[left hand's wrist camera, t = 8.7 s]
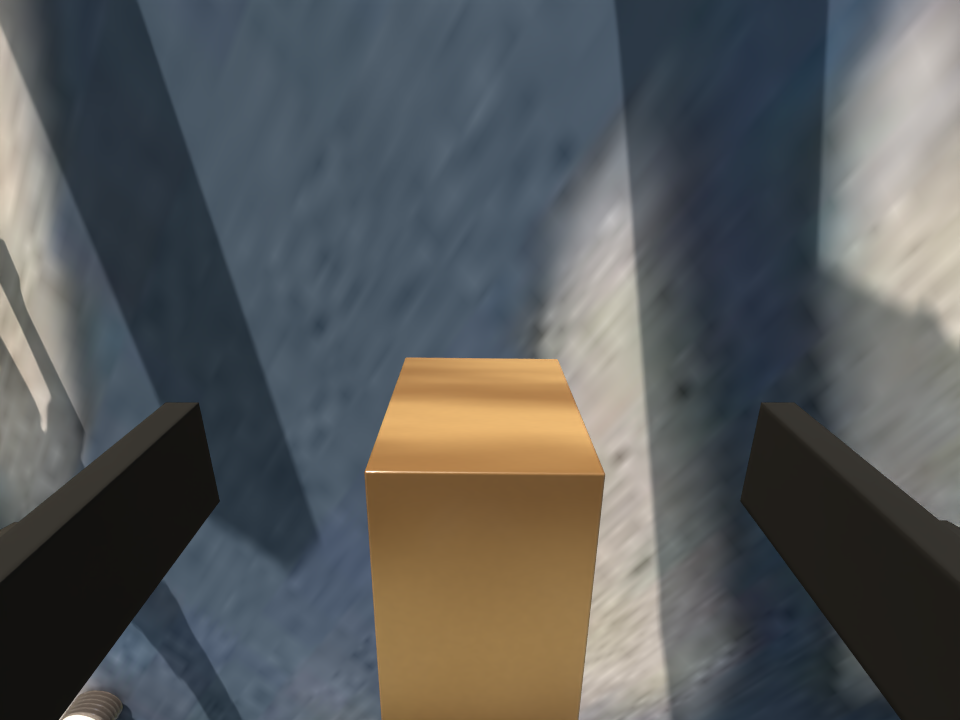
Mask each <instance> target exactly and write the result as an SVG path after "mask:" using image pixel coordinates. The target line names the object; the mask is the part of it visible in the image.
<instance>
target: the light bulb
mask: <svg viewBox="0 0 960 720" xmlns="http://www.w3.org/2000/svg"><path fill="white" fill-rule="evenodd" d="M122 709H123V706H122V703H121V701H120V700H119V699H118V698H117V697H116V696H115V695H113V694H111V693H108V692H104V691H89V692H85V693H83V694H81V695H80V696H78V697H77V698H76V700H75V701H74V702H73V704H72V705H71V706H70V708H69V710H68V711H67V712H66V714H65V715H64V716H63V718H62V719H61V720H116V719H117V718H118V716H119V714H120V713H121V712H122Z"/></svg>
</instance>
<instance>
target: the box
mask: <svg viewBox="0 0 960 720" xmlns="http://www.w3.org/2000/svg"><path fill="white" fill-rule="evenodd" d="M364 473H365V488H366V502H367V516H368V531H369V545H370V560H371V574H372V588H373V603H374V617H375V632H376V646H377V660H378V675H379V689H380V704H381V718H382V720H578V718H579V709H580V700H581V691H582V681H583V672H584V663H585V654H586V645H587V636H588V627H589V617H590V608H591V599H592V590H593V581H594V572H595V563H596V553H597V544H598V535H599V526H600V517H601V508H602V499H603V489H604V480H605V473H604V471H603V468H602V466H601V463H600V461H599V458H598V456H597V454H596V451H595V449H594V446H593V444H592V441H591V439H590V437H589V434H588V432H587V429H586V427H585V425H584V422H583V420H582V417H581V415H580V412H579V410H578V408H577V405H576V403H575V400H574V398H573V395H572V393H571V391H570V388H569V386H568V383H567V381H566V378H565V376H564V374H563V371H562V369H561V366H560V364H559V362H558V360H557V359H476V358H405V361H404V364H403V367H402V370H401V372H400V375H399V378H398V381H397V383H396V386H395V389H394V392H393V395H392V397H391V400H390V403H389V406H388V408H387V411H386V414H385V417H384V420H383V422H382V425H381V428H380V431H379V434H378V436H377V439H376V442H375V445H374V447H373V450H372V453H371V456H370V459H369V461H368V464H367V467H366V470H365V472H364Z"/></svg>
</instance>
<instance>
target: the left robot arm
mask: <svg viewBox="0 0 960 720" xmlns="http://www.w3.org/2000/svg"><path fill="white" fill-rule="evenodd" d="M219 501H220V500H219V495H218V491H217V486H216V481H215V477H214V472H213V467H212V463H211V458H210V453H209V449H208V444H207V439H206V435H205V430H204V425H203V421H202V416H201V411H200V406H199V403H165V404H164V405H162V406H161V407H160V408H159V409H157V410H156V411H155V412H154V413H152V414H151V415H150V416H149V417H148V418H146V419H145V420H144V421H143V422H141V423H140V424H139V425H138V426H136V427H135V428H134V429H133V430H131V431H130V432H129V433H128V434H127V435H125V436H124V437H123V438H122V439H120V440H119V441H118V442H117V443H115V444H114V445H113V446H112V447H111V448H109V449H108V450H107V451H106V452H104V453H103V454H102V455H101V456H99V457H98V458H97V459H96V460H95V461H93V462H92V463H91V464H90V465H88V466H87V467H86V468H85V469H83V470H82V471H81V472H80V473H79V474H77V475H76V476H75V477H74V478H72V479H71V480H70V481H69V482H67V483H66V484H65V485H64V486H63V487H61V488H60V489H59V490H58V491H56V492H55V493H54V494H53V495H51V496H50V497H49V498H48V499H47V500H45V501H44V502H43V503H42V504H40V505H39V506H38V507H37V508H35V509H34V510H33V511H32V512H31V513H29V514H28V515H27V516H26V517H24V518H23V519H22V520H21V521H19V522H14V523H12V524H10V525H9V526H7V527H5V528H3V529H1V530H0V720H59V719H60V717H61V716H62V715H63V713H64V712H65V711H66V709H67V708H68V707H69V705H70V704H71V702H72V701H73V700H74V698H75V697H76V696H77V694H78V693H79V692H80V690H81V689H82V688H83V686H84V685H85V683H86V682H87V681H88V679H89V678H90V677H91V675H92V674H93V673H94V671H95V670H96V668H97V667H98V666H99V664H100V663H101V662H102V660H103V659H104V658H105V656H106V655H107V654H108V652H109V651H110V649H111V648H112V647H113V645H114V644H115V643H116V641H117V640H118V639H119V637H120V636H121V635H122V633H123V632H124V630H125V629H126V628H127V626H128V625H129V624H130V622H131V621H132V620H133V618H134V617H135V616H136V614H137V613H138V611H139V610H140V609H141V607H142V606H143V605H144V603H145V602H146V601H147V599H148V598H149V596H150V595H151V594H152V592H153V591H154V590H155V588H156V587H157V586H158V584H159V583H160V582H161V580H162V579H163V577H164V576H165V575H166V573H167V572H168V571H169V569H170V568H171V567H172V565H173V564H174V563H175V561H176V560H177V558H178V557H179V556H180V554H181V553H182V552H183V550H184V549H185V548H186V546H187V545H188V544H189V542H190V541H191V539H192V538H193V537H194V535H195V534H196V533H197V531H198V530H199V529H200V527H201V526H202V524H203V523H204V522H205V520H206V519H207V518H208V516H209V515H210V514H211V512H212V511H213V510H214V508H215V507H216V505H217V504H218V503H219ZM740 501H741V503H742V504H743V505H744V507H745V508H746V510H747V511H748V512H749V514H750V515H751V516H752V518H753V519H754V520H755V522H756V523H757V524H758V526H759V527H760V529H761V530H762V531H763V533H764V534H765V535H766V537H767V538H768V539H769V541H770V542H771V544H772V545H773V546H774V548H775V549H776V550H777V552H778V553H779V554H780V556H781V557H782V558H783V560H784V561H785V563H786V564H787V565H788V567H789V568H790V569H791V571H792V572H793V573H794V575H795V576H796V577H797V579H798V580H799V582H800V583H801V584H802V586H803V587H804V588H805V590H806V591H807V592H808V594H809V595H810V596H811V598H812V599H813V601H814V602H815V603H816V605H817V606H818V607H819V609H820V610H821V611H822V613H823V614H824V616H825V617H826V618H827V620H828V621H829V622H830V624H831V625H832V626H833V628H834V629H835V630H836V632H837V633H838V635H839V636H840V637H841V639H842V640H843V641H844V643H845V644H846V645H847V647H848V648H849V649H850V651H851V652H852V654H853V655H854V656H855V658H856V659H857V660H858V662H859V663H860V664H861V666H862V667H863V669H864V670H865V671H866V673H867V674H868V675H869V677H870V678H871V679H872V681H873V682H874V683H875V685H876V686H877V688H878V689H879V690H880V692H881V693H882V694H883V696H884V697H885V698H886V700H887V701H888V702H889V704H890V705H891V707H892V708H893V709H894V711H895V712H896V713H897V715H898V716H899V717H900V719H901V720H960V528H959V527H958V526H956V525H954V524H952V523H950V522H948V521H939V520H938V519H937V518H936V517H934V516H933V515H932V514H931V513H929V512H928V511H927V510H926V509H925V508H923V507H922V506H921V505H920V504H918V503H917V502H916V501H915V500H913V499H912V498H911V497H910V496H909V495H907V494H906V493H905V492H904V491H902V490H901V489H900V488H899V487H897V486H896V485H895V484H894V483H893V482H891V481H890V480H889V479H888V478H886V477H885V476H884V475H883V474H881V473H880V472H879V471H878V470H877V469H875V468H874V467H873V466H872V465H870V464H869V463H868V462H867V461H865V460H864V459H863V458H862V457H861V456H859V455H858V454H857V453H856V452H854V451H853V450H852V449H851V448H849V447H848V446H847V445H846V444H845V443H843V442H842V441H841V440H840V439H838V438H837V437H836V436H835V435H833V434H832V433H831V432H830V431H829V430H827V429H826V428H825V427H824V426H822V425H821V424H820V423H819V422H817V421H816V420H815V419H814V418H812V417H811V416H810V415H809V414H808V413H806V412H805V411H804V410H803V409H801V408H800V407H799V406H798V405H796V404H795V403H761V406H760V411H759V416H758V421H757V425H756V430H755V435H754V439H753V444H752V449H751V453H750V458H749V463H748V467H747V472H746V477H745V481H744V486H743V491H742V495H741V500H740Z"/></svg>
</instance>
